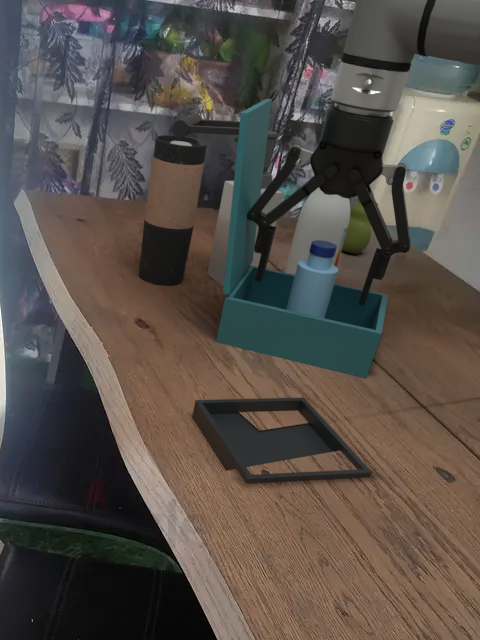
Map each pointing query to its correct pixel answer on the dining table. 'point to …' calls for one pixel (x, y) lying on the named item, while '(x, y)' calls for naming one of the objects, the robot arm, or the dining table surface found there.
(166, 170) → the travel mug
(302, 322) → the teal box
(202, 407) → the tray
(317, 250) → the water bottle
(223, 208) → the soap dispenser
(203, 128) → the lid
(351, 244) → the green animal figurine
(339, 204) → the milk bottle
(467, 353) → the dining table surface
